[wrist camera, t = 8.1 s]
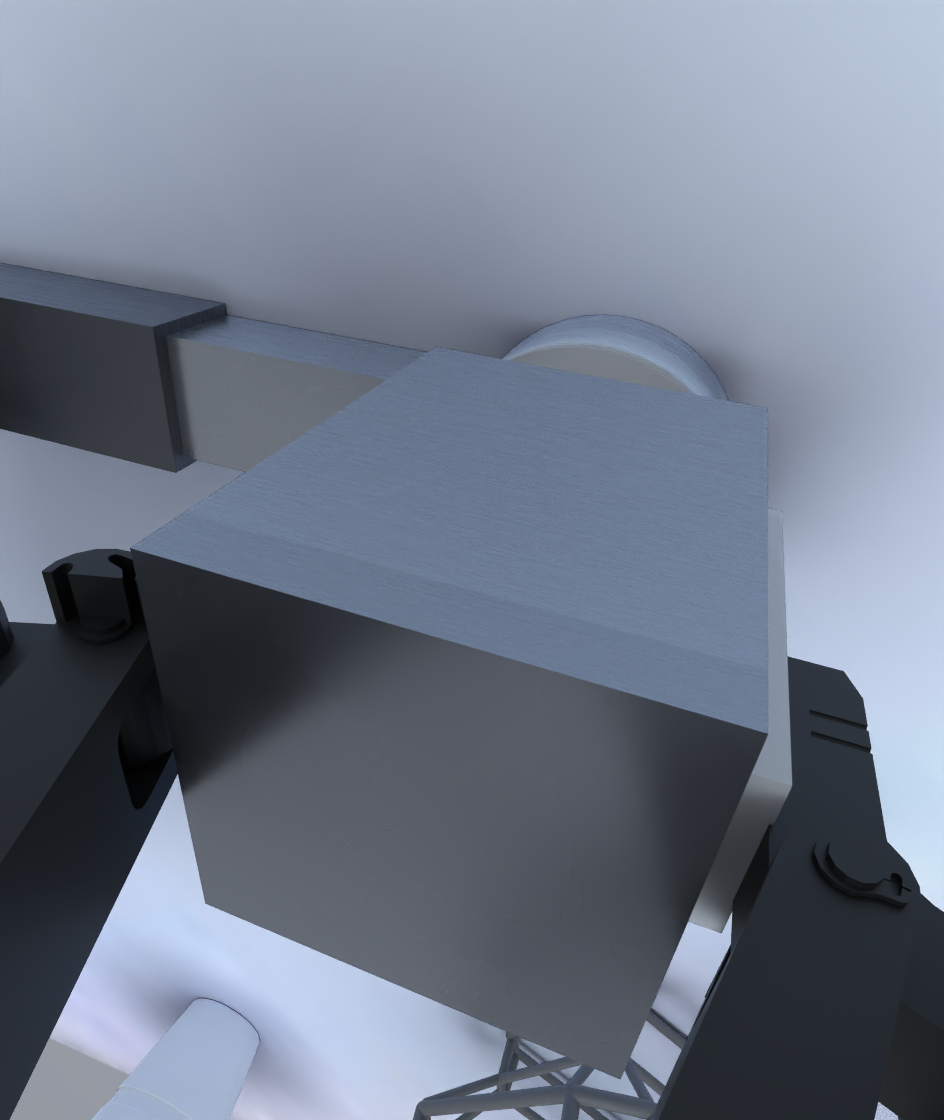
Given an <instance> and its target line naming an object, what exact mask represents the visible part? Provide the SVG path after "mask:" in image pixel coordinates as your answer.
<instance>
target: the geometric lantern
mask: <svg viewBox="0 0 944 1120" xmlns="http://www.w3.org/2000/svg"><path fill="white" fill-rule="evenodd" d="M646 1020H647V1021H648V1022H649V1023H650V1024H652V1025H653V1026H654V1027H655V1028H657V1029H658V1030H659V1031H660V1032H661V1033H663V1034H664V1035H665V1036H666V1037H668V1038H669V1039H670V1040H671V1041H672V1042H674V1043H675V1044H676V1045H677V1046H679V1047H680V1048H681V1049H683V1046H684V1044H685V1042H686V1040H685V1039H684V1038H683V1037H682V1036H680V1035H679V1034H678V1033H677V1032H675V1031H674V1030H673V1029H672V1028H671V1027H669V1026H668V1025H667V1024H666V1023H665V1022H663V1021H662V1020H661V1019H660V1018H658V1017H657V1016H656V1015H655V1014H654V1013H652V1012H651V1011H649V1014H648V1016H647V1018H646ZM516 1037H519V1036H517V1035H514V1034H512V1033H510V1032H506V1038H507V1042H506V1046H505V1050H504V1054H503V1058H502V1062H501V1066H500V1070H499V1074H496V1075H493V1076H490V1077H487V1078H484V1079H481V1080H478V1081H475V1082H472V1083H469V1084H466V1085H463V1086H460V1087H457V1088H454V1089H451V1090H448V1091H445V1092H442V1093H439V1094H436V1095H433V1096H430V1097H427V1098H424V1099H423V1101H421V1102H419V1103H418V1104H417V1107H416V1110H415V1114H414V1117H413V1120H431V1118H430V1116H438V1115H448V1114H459V1113H464V1114H462V1115H461V1116H460V1117H458V1118H457V1119H456V1120H472V1119H473V1118H475V1117H476V1116H478V1115H479V1114H480V1113H482V1112H483V1111H491V1110H501V1109H512V1108H514V1109H515V1110H517V1111H518V1112H520V1113H521V1114H522V1115H524V1116H525V1117H526V1118H528V1119H529V1120H545V1119H544V1118H543V1117H541V1116H540V1115H539V1114H537V1113H536V1112H534V1111H533V1110H532V1109H530V1108H529V1107H533V1106H544V1105H554V1104H563V1111H562V1117H561V1120H578V1115H579V1108H581V1109H582V1110H583V1111H585V1112H586V1113H587V1114H588V1115H590V1116H591V1117H592V1118H593V1119H595V1120H609V1119H607V1118H606V1117H605V1116H604V1115H602V1114H601V1113H600V1112H599V1111H597V1110H596V1109H595V1108H597V1109H602V1110H606V1111H611V1112H616V1113H620V1114H625V1115H629V1116H634V1117H638V1118H642V1119H646V1120H650V1119H651V1117H652V1114H653V1112H654V1110H655V1108H656V1106H657V1104H656V1103H654V1101H653V1099H652V1097H651V1095H650V1094H649V1092H648V1090H647V1088H646V1087H645V1085H644V1083H646V1084H647V1085H648V1086H649V1087H651V1088H652V1089H653V1090H654V1091H655V1092H657V1093H658V1094H659V1095H660V1096H661V1095H662V1092H663V1090H664V1088H665V1085H663V1084H662V1083H661V1082H660V1081H658V1080H657V1079H656V1078H655V1077H653V1076H652V1075H651V1074H650V1073H649V1072H647V1071H646V1070H645V1069H644V1068H642V1067H641V1066H640V1065H639V1064H638V1063H636V1062H635V1061H634V1060H633V1059H631V1058H629V1060H628V1063H627V1065H626V1067H625V1072H626V1074H627V1076H628V1078H629V1080H630V1082H631V1084H632V1085H633V1087H634V1089H635V1091H636V1093H637V1095H638V1097H639V1098H637V1097H633V1096H628V1095H623V1094H618V1093H614V1092H609V1091H604V1090H599V1089H595V1088H590V1087H585V1086H581V1085H582V1083H583V1082H584V1081H585V1080H586V1079H587V1077H588V1076H589V1075H590V1074H591V1072H592V1071H593V1070H594V1068H592V1067H590V1066H587V1065H585V1064H583V1063H580V1062H578V1061H576V1060H573V1059H571V1058H568V1057H563V1058H560V1059H556V1060H552V1061H548V1062H544V1063H541V1064H538V1063H537V1062H536V1061H535V1060H533V1059H532V1058H531V1057H530V1056H528V1055H527V1054H526V1053H525V1052H523V1051H522V1050H521V1049H520V1048H519V1046H518V1043H517V1041H516ZM512 1052H513V1053H512ZM519 1060H520V1061H522V1062H523V1063H524V1064H525V1065H527V1066H528V1067H525V1068H522V1069H518V1070H516V1068H517V1065H518V1061H519ZM579 1065H582V1066H581V1067H580V1068H579V1069H578V1071H577V1072H576V1073H575V1074H574V1075H573V1076H572V1077H571V1079H570V1080H569V1081H568V1082H567V1083H566V1084H564V1083H562V1082H561V1081H560V1080H559V1079H557V1078H556V1077H555V1076H554V1075H552V1074H551V1073H550V1072H554V1071H558V1070H562V1069H566V1068H570V1067H574V1066H579ZM538 1075H539V1076H541V1077H542V1078H543V1079H544V1080H546V1081H547V1082H548V1083H549V1084H551V1085H552V1086H547V1087H538V1088H530V1089H521V1090H513V1091H510V1088H511V1085H512V1082H514V1081H518V1080H522V1079H526V1078H530V1077H534V1076H538ZM643 1082H644V1083H643ZM495 1085H497V1089H496V1090H495V1091H494V1092H492V1093H487V1094H478V1095H470V1096H466V1095H469V1094H472V1093H475V1092H478V1091H481V1090H484V1089H487V1088H490V1087H492V1086H495Z"/></svg>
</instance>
